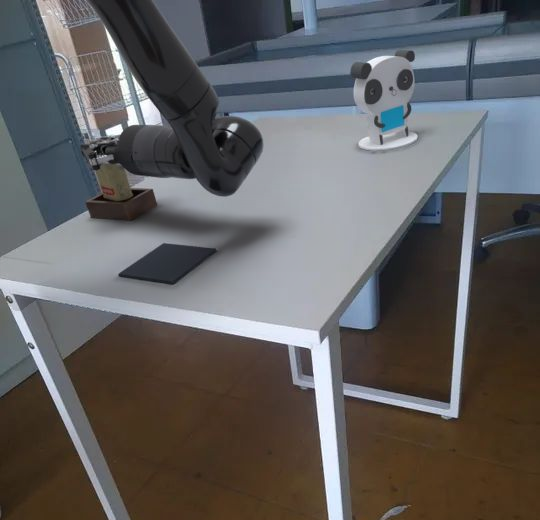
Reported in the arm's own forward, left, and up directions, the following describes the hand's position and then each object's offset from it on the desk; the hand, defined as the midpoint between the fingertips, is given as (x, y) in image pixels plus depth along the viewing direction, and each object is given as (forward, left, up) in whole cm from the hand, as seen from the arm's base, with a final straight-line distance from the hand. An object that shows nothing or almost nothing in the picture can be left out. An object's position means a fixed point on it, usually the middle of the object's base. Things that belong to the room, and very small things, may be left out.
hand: (93, 147), depth 94 cm
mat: (-16, -27, -11) cm, 33 cm away
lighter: (0, -3, -9) cm, 9 cm away
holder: (0, -3, -11) cm, 12 cm away
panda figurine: (+39, -38, -11) cm, 55 cm away
